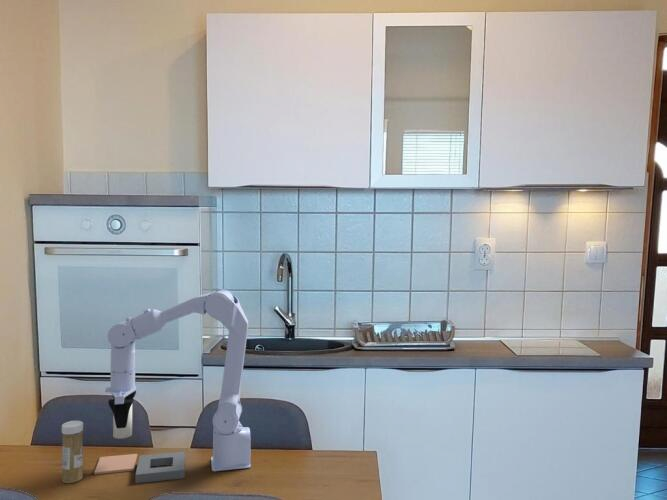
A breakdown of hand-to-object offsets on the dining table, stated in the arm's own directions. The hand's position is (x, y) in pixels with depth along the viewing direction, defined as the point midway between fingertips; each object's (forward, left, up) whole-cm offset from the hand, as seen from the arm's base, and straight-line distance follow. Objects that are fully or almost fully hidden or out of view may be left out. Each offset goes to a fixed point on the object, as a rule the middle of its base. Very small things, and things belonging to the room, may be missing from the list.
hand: (122, 424), depth 132 cm
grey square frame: (-10, +5, -11) cm, 15 cm away
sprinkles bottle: (+10, +5, -11) cm, 16 cm away
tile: (+1, -1, -11) cm, 11 cm away
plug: (0, 0, -3) cm, 3 cm away
